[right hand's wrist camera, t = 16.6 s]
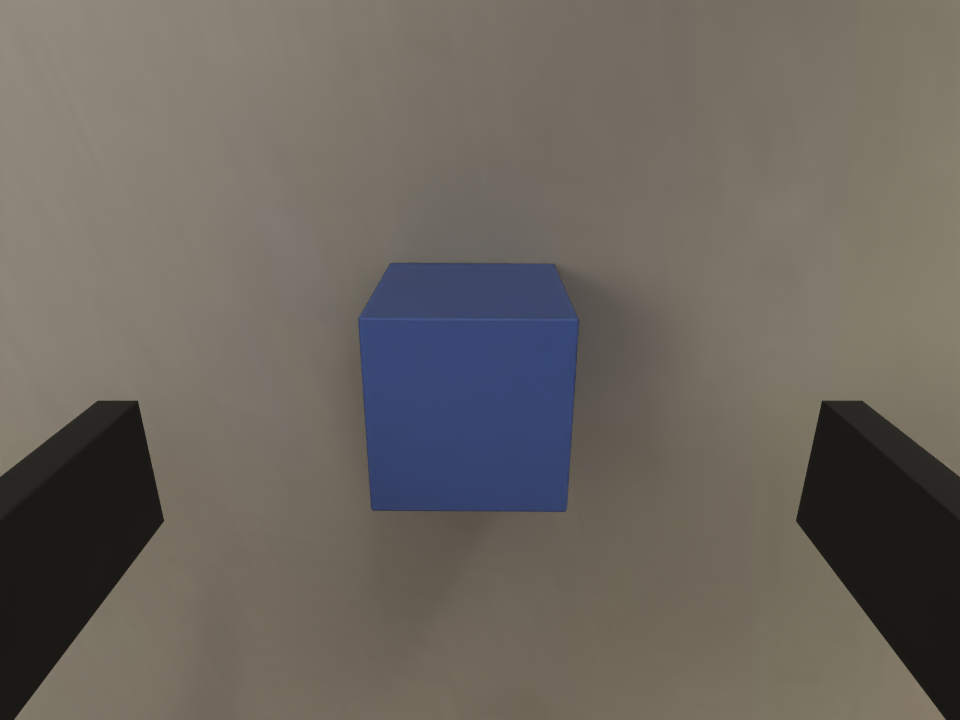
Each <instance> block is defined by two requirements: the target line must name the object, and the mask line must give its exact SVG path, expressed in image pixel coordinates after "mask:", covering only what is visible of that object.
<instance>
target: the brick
mask: <svg viewBox="0 0 960 720" xmlns="http://www.w3.org/2000/svg"><path fill="white" fill-rule="evenodd" d="M358 323H359V337H360V352H361V367H362V381H363V396H364V411H365V425H366V440H367V455H368V469H369V484H370V499H371V509H372V510H373V511H530V512H565V511H566V510H567V499H568V484H569V468H570V453H571V438H572V422H573V407H574V391H575V376H576V360H577V345H578V330H579V319H578V317H577V315H576V312H575V310H574V308H573V306H572V303H571V301H570V299H569V297H568V294H567V292H566V290H565V288H564V285H563V283H562V281H561V279H560V277H559V274H558V272H557V270H556V268H555V265H554V264H469V263H391V264H390V265H389V267H388V268H387V270H386V272H385V273H384V275H383V277H382V279H381V280H380V282H379V284H378V286H377V287H376V289H375V291H374V292H373V294H372V296H371V298H370V299H369V301H368V303H367V305H366V306H365V308H364V310H363V311H362V313H361V315H360V317H359V319H358Z"/></svg>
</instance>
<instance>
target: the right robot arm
mask: <svg viewBox="0 0 960 720" xmlns="http://www.w3.org/2000/svg"><path fill="white" fill-rule="evenodd" d="M163 522H164V519H163V514H162V510H161V505H160V500H159V496H158V491H157V487H156V482H155V477H154V473H153V468H152V464H151V459H150V454H149V450H148V445H147V441H146V436H145V432H144V427H143V422H142V418H141V413H140V409H139V404H138V401H97V402H96V403H94V404H93V405H92V406H91V407H89V408H88V409H87V410H85V411H84V412H83V413H82V414H80V415H79V416H78V417H76V418H75V419H74V420H73V421H71V422H70V423H69V424H68V425H66V426H65V427H64V428H62V429H61V430H60V431H59V432H57V433H56V434H55V435H53V436H52V437H51V438H50V439H48V440H47V441H46V442H44V443H43V444H42V445H41V446H39V447H38V448H37V449H35V450H34V451H33V452H32V453H30V454H29V455H28V456H27V457H25V458H24V459H23V460H21V461H20V462H19V463H18V464H16V465H15V466H14V467H12V468H11V469H10V470H9V471H7V472H6V473H5V474H3V475H2V476H1V477H0V720H14V719H15V718H16V716H17V715H18V714H19V712H20V711H21V710H22V708H23V707H24V706H25V704H26V703H27V702H28V700H29V699H30V698H31V696H32V695H33V694H34V692H35V691H36V690H37V688H38V687H39V686H40V684H41V683H42V682H43V680H44V679H45V678H46V677H47V675H48V674H49V673H50V671H51V670H52V669H53V667H54V666H55V665H56V663H57V662H58V661H59V659H60V658H61V657H62V655H63V654H64V653H65V651H66V650H67V649H68V647H69V646H70V645H71V643H72V642H73V641H74V639H75V638H76V637H77V635H78V634H79V633H80V631H81V630H82V629H83V628H84V626H85V625H86V624H87V622H88V621H89V620H90V618H91V617H92V616H93V614H94V613H95V612H96V610H97V609H98V608H99V606H100V605H101V604H102V602H103V601H104V600H105V598H106V597H107V596H108V594H109V593H110V592H111V590H112V589H113V588H114V586H115V585H116V584H117V583H118V581H119V580H120V579H121V577H122V576H123V575H124V573H125V572H126V571H127V569H128V568H129V567H130V565H131V564H132V563H133V561H134V560H135V559H136V557H137V556H138V555H139V553H140V552H141V551H142V549H143V548H144V547H145V545H146V544H147V543H148V541H149V540H150V539H151V538H152V536H153V535H154V534H155V532H156V531H157V530H158V528H159V527H160V526H161V524H162V523H163ZM796 522H797V523H798V524H799V526H800V527H801V528H802V530H803V531H804V532H805V534H806V535H807V536H808V538H809V539H810V540H811V541H812V543H813V544H814V545H815V547H816V548H817V549H818V551H819V552H820V553H821V555H822V556H823V557H824V559H825V560H826V561H827V563H828V564H829V565H830V567H831V568H832V569H833V571H834V572H835V573H836V575H837V576H838V577H839V579H840V580H841V581H842V583H843V584H844V585H845V586H846V588H847V589H848V590H849V592H850V593H851V594H852V596H853V597H854V598H855V600H856V601H857V602H858V604H859V605H860V606H861V608H862V609H863V610H864V612H865V613H866V614H867V616H868V617H869V618H870V620H871V621H872V622H873V624H874V625H875V626H876V628H877V629H878V630H879V632H880V633H881V634H882V635H883V637H884V638H885V639H886V641H887V642H888V643H889V645H890V646H891V647H892V649H893V650H894V651H895V653H896V654H897V655H898V657H899V658H900V659H901V661H902V662H903V663H904V665H905V666H906V667H907V669H908V670H909V671H910V673H911V674H912V675H913V677H914V678H915V679H916V680H917V682H918V683H919V684H920V686H921V687H922V688H923V690H924V691H925V692H926V694H927V695H928V696H929V698H930V699H931V700H932V702H933V703H934V704H935V706H936V707H937V708H938V710H939V711H940V712H941V714H942V715H943V716H944V718H945V719H946V720H960V477H959V476H958V475H957V474H955V473H954V472H953V471H951V470H950V469H949V468H948V467H946V466H945V465H944V464H942V463H941V462H940V461H939V460H937V459H936V458H935V457H933V456H932V455H931V454H930V453H928V452H927V451H926V450H925V449H923V448H922V447H921V446H919V445H918V444H917V443H916V442H914V441H913V440H912V439H910V438H909V437H908V436H907V435H905V434H904V433H903V432H901V431H900V430H899V429H898V428H896V427H895V426H894V425H892V424H891V423H890V422H889V421H887V420H886V419H885V418H884V417H882V416H881V415H880V414H878V413H877V412H876V411H875V410H873V409H872V408H871V407H869V406H868V405H867V404H866V403H864V402H863V401H822V404H821V409H820V413H819V418H818V422H817V427H816V432H815V436H814V441H813V445H812V450H811V454H810V459H809V464H808V468H807V473H806V477H805V482H804V487H803V491H802V496H801V500H800V505H799V510H798V514H797V519H796Z"/></svg>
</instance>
